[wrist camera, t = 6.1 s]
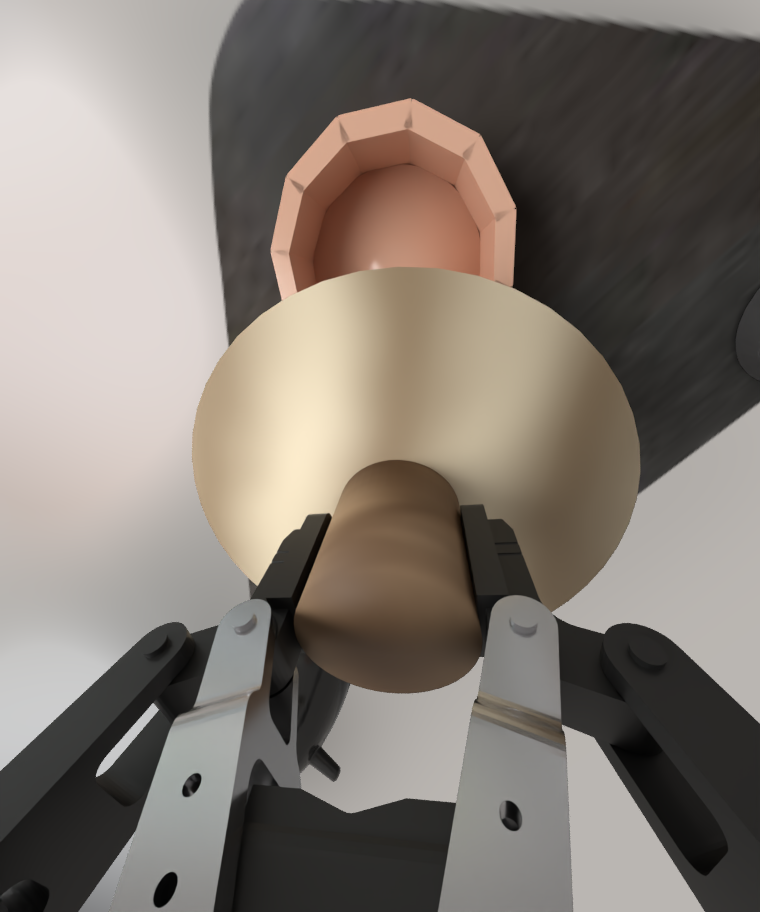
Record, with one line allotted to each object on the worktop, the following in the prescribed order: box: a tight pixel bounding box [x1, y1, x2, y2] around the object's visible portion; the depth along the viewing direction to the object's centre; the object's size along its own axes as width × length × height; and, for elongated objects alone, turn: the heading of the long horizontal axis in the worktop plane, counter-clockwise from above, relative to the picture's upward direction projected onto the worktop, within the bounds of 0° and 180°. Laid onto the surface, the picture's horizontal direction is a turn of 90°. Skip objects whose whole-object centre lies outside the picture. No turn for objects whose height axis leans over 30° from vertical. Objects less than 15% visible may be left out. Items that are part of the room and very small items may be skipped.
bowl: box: [271, 98, 516, 301], centre depth 20 cm, size 13×13×6 cm
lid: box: [192, 267, 640, 693], centre depth 10 cm, size 16×16×6 cm
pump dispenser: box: [296, 653, 350, 782], centre depth 34 cm, size 10×10×15 cm
